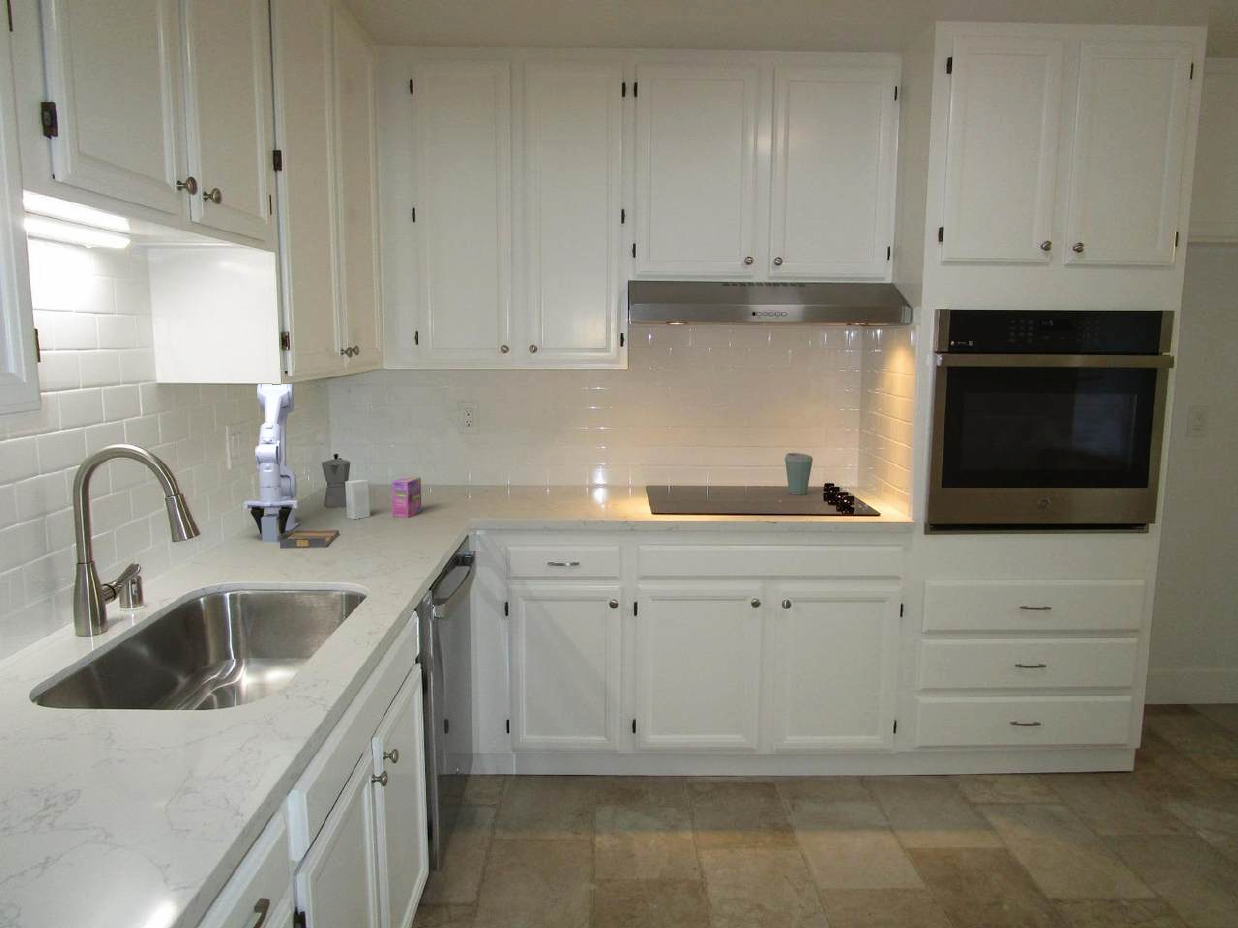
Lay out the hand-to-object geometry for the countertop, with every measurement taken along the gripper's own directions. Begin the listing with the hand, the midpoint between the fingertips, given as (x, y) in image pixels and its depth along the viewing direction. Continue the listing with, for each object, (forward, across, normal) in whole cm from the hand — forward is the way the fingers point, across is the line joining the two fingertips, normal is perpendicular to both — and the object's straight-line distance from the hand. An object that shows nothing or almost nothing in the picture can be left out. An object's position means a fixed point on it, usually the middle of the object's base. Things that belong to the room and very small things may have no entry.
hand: (272, 533), depth 244 cm
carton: (+2, 0, 0) cm, 2 cm away
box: (+2, +33, +34) cm, 47 cm away
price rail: (+2, +11, -10) cm, 15 cm away
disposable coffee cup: (+2, +174, +63) cm, 185 cm away
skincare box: (+2, +18, +30) cm, 35 cm away
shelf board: (+2, +11, -2) cm, 11 cm away
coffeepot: (+2, +7, +53) cm, 54 cm away
